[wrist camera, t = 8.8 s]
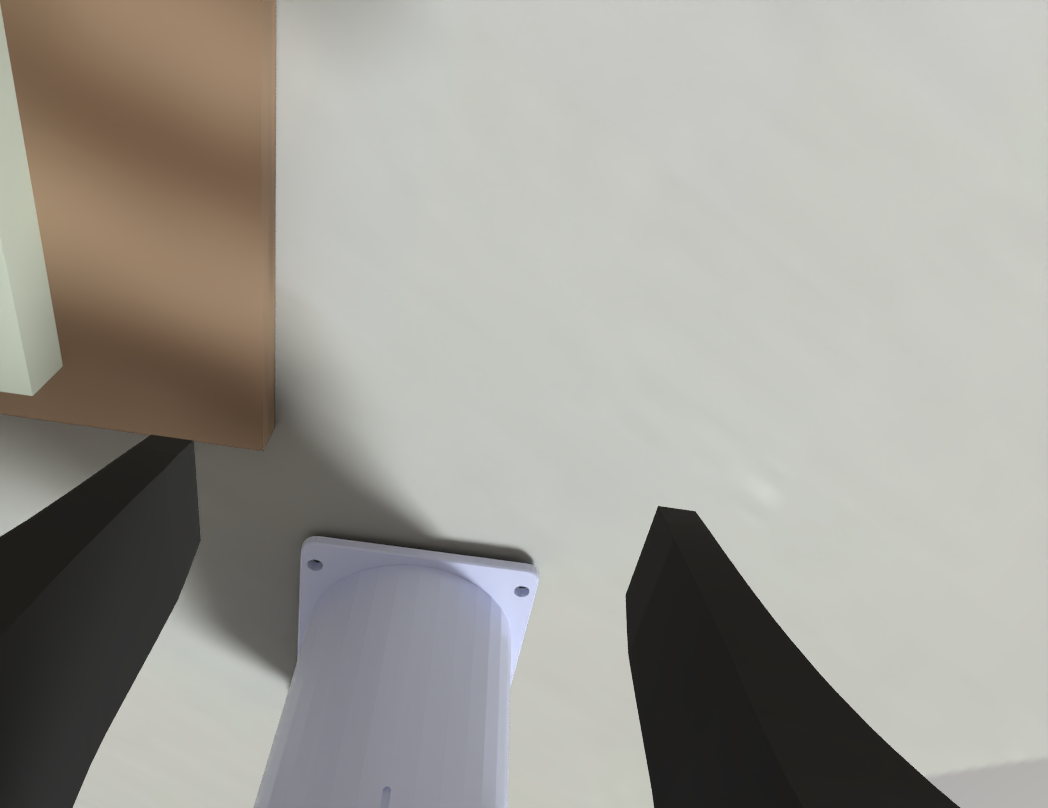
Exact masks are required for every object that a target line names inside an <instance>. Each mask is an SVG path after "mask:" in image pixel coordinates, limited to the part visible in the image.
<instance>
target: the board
mask: <svg viewBox="0 0 1048 808" xmlns="http://www.w3.org/2000/svg"><path fill="white" fill-rule="evenodd" d="M0 6H1V11H2V17H3V23H4V29H5V35H6V40H7V46H8V52H9V58H10V63H11V69H12V75H13V81H14V87H15V92H16V98H17V104H18V110H19V115H20V121H21V127H22V133H23V139H24V144H25V150H26V156H27V162H28V167H29V173H30V179H31V185H32V191H33V196H34V202H35V208H36V214H37V219H38V225H39V231H40V237H41V243H42V248H43V254H44V260H45V266H46V271H47V277H48V283H49V289H50V295H51V300H52V306H53V312H54V318H55V323H56V329H57V335H58V341H59V347H60V352H61V358H62V364H63V366H62V367H61V368H60V369H59V370H58V371H57V372H56V373H55V374H54V375H53V376H52V377H51V378H50V379H49V380H48V381H47V382H46V383H45V384H44V385H43V386H42V387H41V388H40V389H39V390H38V391H37V392H36V393H35V394H34V395H33V396H28V395H22V394H15V393H8V392H1V391H0V414H5V415H12V416H19V417H26V418H33V419H40V420H47V421H54V422H61V423H68V424H75V425H82V426H90V427H97V428H104V429H111V430H118V431H125V432H132V433H139V434H146V435H158V436H166V437H173V438H180V439H187V440H194V441H196V442H203V443H210V444H217V445H224V446H231V447H238V448H245V449H252V450H260V451H264V449H265V447H266V444H267V442H268V440H269V438H270V436H271V434H272V432H273V430H274V428H275V190H276V0H0Z"/></svg>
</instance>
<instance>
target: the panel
mask: <svg viewBox="0 0 1048 808" xmlns="http://www.w3.org/2000/svg"><path fill="white" fill-rule="evenodd" d="M62 366H63V364H62V358H61V352H60V347H59V341H58V335H57V329H56V323H55V318H54V312H53V306H52V300H51V295H50V289H49V283H48V277H47V271H46V266H45V260H44V254H43V248H42V243H41V237H40V231H39V225H38V219H37V214H36V208H35V202H34V196H33V191H32V185H31V179H30V173H29V167H28V162H27V156H26V150H25V144H24V139H23V133H22V127H21V121H20V115H19V110H18V104H17V98H16V92H15V87H14V81H13V75H12V69H11V63H10V58H9V52H8V46H7V40H6V35H5V29H4V23H3V17H2V11H1V6H0V391H1V392H8V393H15V394H22V395H28V396H33V395H34V394H35V393H36V392H37V391H38V390H39V389H40V388H41V387H42V386H43V385H44V384H45V383H46V382H47V381H48V380H49V379H50V378H51V377H52V376H53V375H54V374H55V373H56V372H57V371H58V370H59V369H60V368H61V367H62Z"/></svg>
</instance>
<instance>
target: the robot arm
mask: <svg viewBox="0 0 1048 808" xmlns="http://www.w3.org/2000/svg"><path fill="white" fill-rule="evenodd" d="M199 543H200V526H199V511H198V497H197V483H196V469H195V454H194V440H187V439H180V438H173V437H166V436H158V435H150V436H149V437H147V438H146V439H145V440H143V441H142V442H140V443H139V444H137V445H136V446H134V447H133V448H131V449H130V450H128V451H127V452H126V453H124V454H123V455H121V456H120V457H118V458H117V459H115V460H114V461H113V462H111V463H110V464H108V465H107V466H106V467H104V468H103V469H101V470H100V471H98V472H97V473H96V474H94V475H93V476H91V477H90V478H88V479H87V480H86V481H84V482H83V483H81V484H80V485H78V486H77V487H76V488H74V489H73V490H71V491H70V492H68V493H67V494H65V495H64V496H62V497H61V498H59V499H58V500H56V501H55V502H53V503H52V504H50V505H49V506H47V507H46V508H44V509H43V510H42V511H40V512H39V513H37V514H36V515H34V516H33V517H31V518H30V519H28V520H27V521H25V522H23V523H22V524H20V525H19V526H17V527H15V528H14V529H12V530H10V531H9V532H7V533H6V534H4V535H2V536H1V537H0V808H73V805H74V803H75V800H76V798H77V796H78V793H79V791H80V789H81V786H82V784H83V781H84V779H85V777H86V774H87V772H88V770H89V767H90V765H91V763H92V761H93V759H94V757H95V755H96V753H97V750H98V748H99V746H100V744H101V742H102V740H103V738H104V736H105V734H106V732H107V730H108V729H109V727H110V725H111V723H112V721H113V719H114V717H115V716H116V714H117V712H118V710H119V708H120V706H121V705H122V703H123V701H124V699H125V697H126V695H127V693H128V692H129V690H130V688H131V686H132V684H133V682H134V681H135V679H136V677H137V675H138V673H139V671H140V670H141V668H142V666H143V664H144V662H145V660H146V658H147V657H148V655H149V653H150V651H151V649H152V647H153V646H154V644H155V642H156V640H157V638H158V636H159V634H160V632H161V631H162V629H163V627H164V625H165V623H166V621H167V619H168V617H169V616H170V614H171V612H172V610H173V608H174V606H175V604H176V602H177V600H178V598H179V595H180V593H181V590H182V588H183V585H184V583H185V580H186V578H187V575H188V573H189V570H190V567H191V565H192V562H193V559H194V556H195V554H196V551H197V548H198V546H199ZM313 560H319V561H320V562H315V561H313ZM538 583H539V571H538V570H537V568H536V567H534V566H533V565H531V564H527V563H520V562H512V561H504V560H497V559H489V558H482V557H474V556H466V555H459V554H451V553H443V552H436V551H428V550H421V549H413V548H405V547H398V546H390V545H383V544H375V543H367V542H360V541H352V540H344V539H337V538H329V537H322V536H312V537H309V538H307V539H306V540H305V541H304V543H303V546H302V549H301V554H300V589H299V623H298V657H297V664H296V668H295V671H294V674H293V678H292V681H291V684H290V688H289V691H288V694H287V698H286V701H285V704H284V708H283V711H282V714H281V718H280V721H279V724H278V728H277V731H276V734H275V738H274V741H273V744H272V748H271V751H270V754H269V758H268V761H267V764H266V768H265V771H264V774H263V778H262V781H261V784H260V788H259V791H258V794H257V798H256V801H255V804H254V808H508V785H509V728H510V687H511V683H512V679H513V675H514V672H515V668H516V664H517V661H518V657H519V653H520V650H521V646H522V642H523V639H524V635H525V631H526V628H527V624H528V620H529V617H530V613H531V609H532V605H533V602H534V598H535V594H536V591H537V587H538ZM519 586H524V587H526V588H518V587H519ZM626 617H627V638H628V655H629V661H630V667H631V673H632V679H633V685H634V691H635V697H636V703H637V708H638V714H639V720H640V725H641V731H642V737H643V742H644V748H645V754H646V759H647V765H648V771H649V776H650V782H651V788H652V795H653V802H654V808H960V807H959V806H957V805H956V804H955V803H954V802H952V801H951V800H950V799H949V798H948V797H947V796H946V795H944V794H943V793H942V792H941V791H939V790H938V789H937V788H936V787H935V786H934V785H933V784H931V783H930V782H929V781H928V780H927V779H926V778H925V777H924V776H923V775H922V774H920V773H919V772H918V771H917V770H916V769H915V768H914V767H913V766H912V765H910V764H909V763H908V762H907V761H906V760H905V759H904V758H903V757H902V756H901V755H899V754H898V753H897V752H896V751H895V750H894V749H893V748H892V747H891V746H890V745H889V744H888V743H887V742H885V741H884V740H883V739H882V738H881V737H880V736H879V735H878V734H877V733H876V732H875V731H874V730H873V729H872V728H871V727H870V726H869V725H868V724H867V723H866V722H865V721H864V720H863V719H862V718H861V717H860V716H859V715H858V714H857V713H856V712H855V711H854V710H853V709H852V708H851V707H850V705H849V704H848V703H847V702H846V701H845V700H844V699H843V698H842V697H841V696H840V695H839V694H838V693H837V692H836V691H835V690H834V689H833V688H832V687H831V686H830V685H829V683H828V682H827V681H826V680H825V679H824V678H823V677H822V676H821V675H820V674H819V672H818V671H817V670H816V669H815V668H814V667H813V665H812V664H811V663H810V662H809V661H808V660H807V658H806V657H805V656H804V655H803V654H802V652H801V651H800V650H799V649H798V648H797V647H796V645H795V644H794V643H793V642H792V641H791V640H790V638H789V637H788V636H787V635H786V633H785V632H784V631H783V630H782V628H781V627H780V626H779V625H778V623H777V622H776V621H775V620H774V618H773V617H772V616H771V615H770V613H769V612H768V611H767V609H766V608H765V607H764V606H763V604H762V603H761V602H760V600H759V599H758V598H757V596H756V595H755V594H754V592H753V591H752V590H751V588H750V587H749V586H748V584H747V583H746V581H745V580H744V579H743V577H742V576H741V575H740V573H739V572H738V571H737V569H736V568H735V566H734V565H733V564H732V562H731V561H730V559H729V558H728V557H727V555H726V554H725V552H724V551H723V550H722V548H721V547H720V545H719V544H718V542H717V541H716V540H715V538H714V537H713V535H712V534H711V533H710V531H709V530H708V528H707V527H706V525H705V524H704V523H703V521H702V520H701V519H700V517H699V516H698V514H697V513H696V512H695V511H689V510H682V509H675V508H668V507H661V506H658V508H657V511H656V514H655V516H654V519H653V522H652V525H651V527H650V530H649V533H648V535H647V538H646V541H645V544H644V546H643V549H642V552H641V555H640V557H639V560H638V563H637V566H636V568H635V571H634V574H633V576H632V579H631V582H630V585H629V587H628V590H627V593H626Z"/></svg>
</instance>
